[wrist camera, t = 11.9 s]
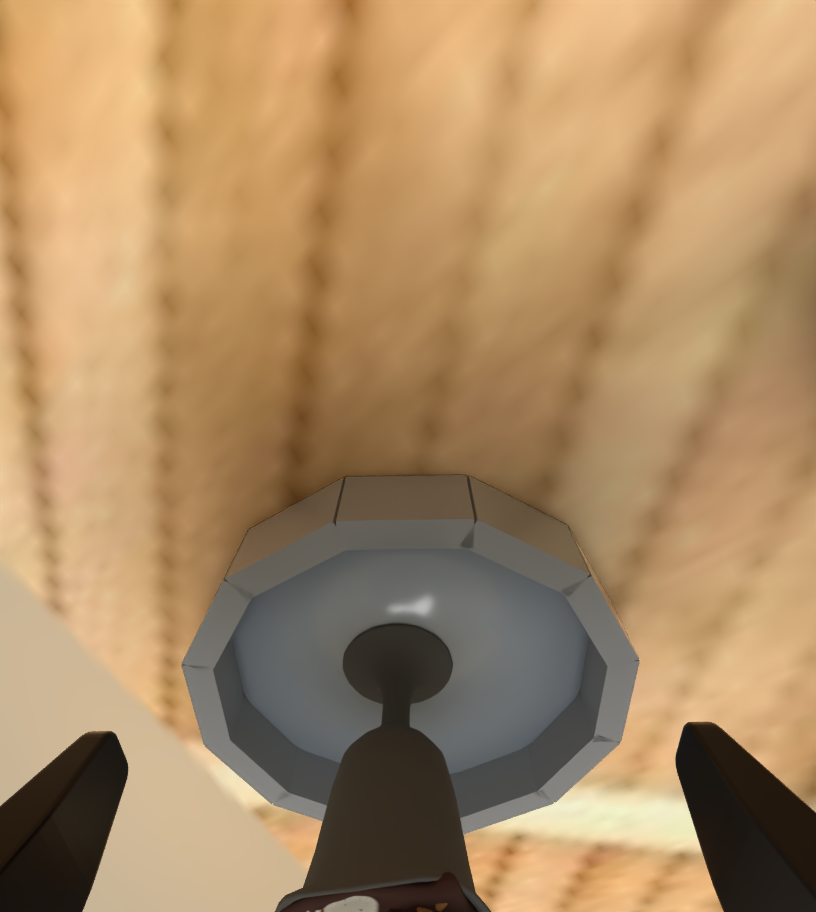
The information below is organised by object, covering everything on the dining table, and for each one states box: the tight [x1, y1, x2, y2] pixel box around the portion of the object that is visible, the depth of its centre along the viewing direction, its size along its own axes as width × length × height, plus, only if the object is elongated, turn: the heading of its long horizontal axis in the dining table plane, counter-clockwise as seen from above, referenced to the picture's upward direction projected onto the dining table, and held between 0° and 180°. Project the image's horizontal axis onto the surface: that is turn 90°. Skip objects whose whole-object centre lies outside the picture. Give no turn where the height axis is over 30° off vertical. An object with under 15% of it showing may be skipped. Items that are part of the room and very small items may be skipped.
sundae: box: [275, 624, 491, 912], centre depth 17 cm, size 7×7×15 cm
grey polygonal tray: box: [182, 475, 639, 834], centre depth 24 cm, size 18×18×3 cm
